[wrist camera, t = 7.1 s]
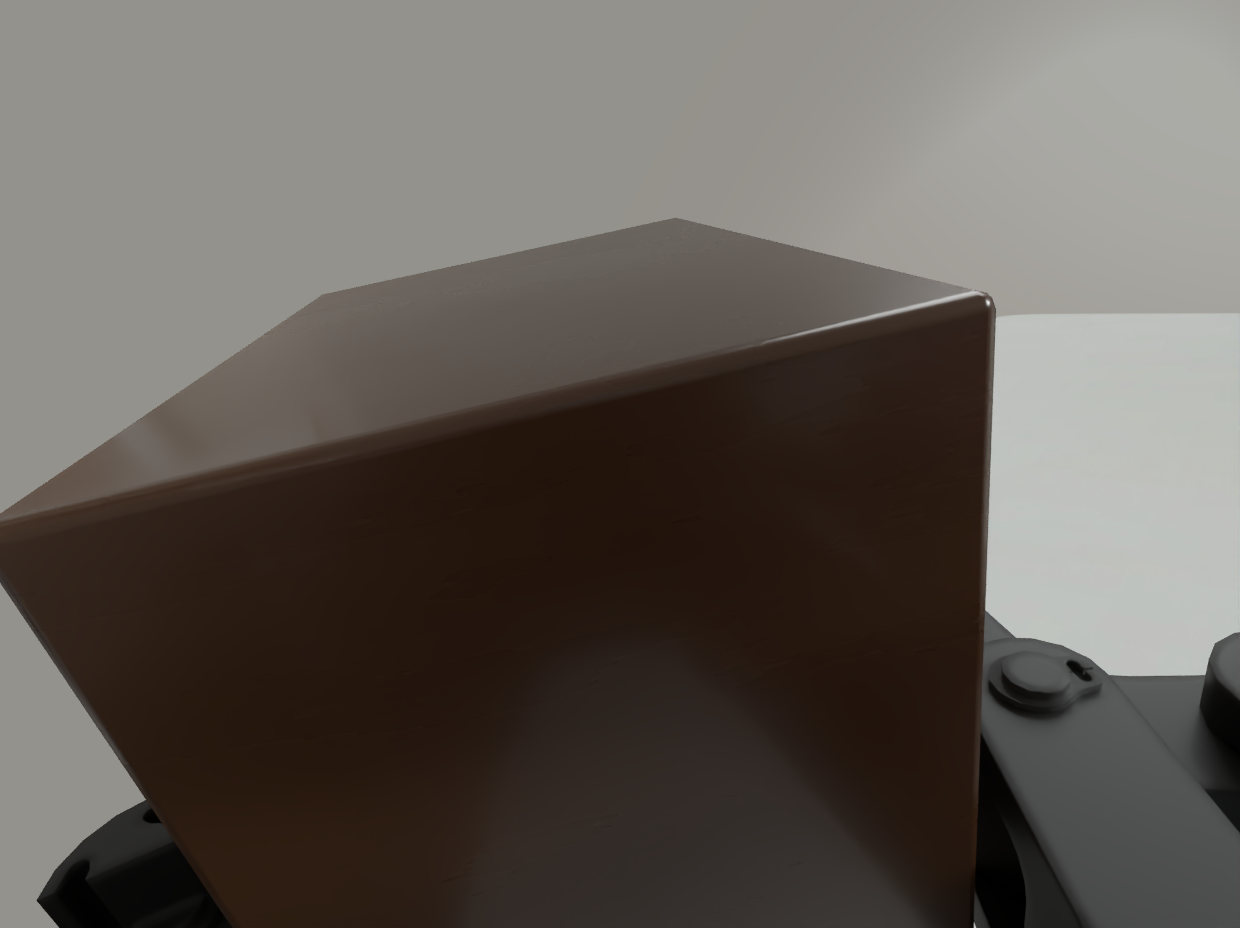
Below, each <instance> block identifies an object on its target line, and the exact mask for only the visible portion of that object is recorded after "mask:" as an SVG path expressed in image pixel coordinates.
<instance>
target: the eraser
mask: <svg viewBox="0 0 1240 928" xmlns="http://www.w3.org/2000/svg"><path fill="white" fill-rule="evenodd" d="M995 322H996V308H995V305H994V302H993V299H992V298H991V297H990V296H989V295H988V294H987V293H984V292H980V291H976V290H972V289H968V288H963V287H959V286H955V285H951V284H947V283H943V282H939V281H935V280H931V279H927V278H922V277H918V276H914V275H910V274H906V273H901V272H898V271H894V270H889V269H885V268H881V267H877V266H873V265H868V264H865V263H860V262H856V261H852V260H848V259H844V258H839V257H835V256H831V255H827V254H823V253H819V252H815V251H810V250H807V249H803V248H798V247H794V246H790V245H786V244H782V243H778V242H774V241H770V240H765V239H761V238H757V237H753V236H749V235H745V234H741V233H737V232H732V231H728V230H724V229H720V228H715V227H712V226H707V225H703V224H699V223H695V222H691V221H687V220H683V219H678V218H673V219H668V220H664V221H659V222H654V223H650V224H645V225H641V226H636V227H631V228H627V229H622V230H618V231H613V232H609V233H604V234H600V235H595V236H590V237H586V238H581V239H576V240H572V241H567V242H562V243H558V244H553V245H549V246H544V247H539V248H535V249H530V250H526V251H521V252H517V253H512V254H507V255H503V256H499V257H494V258H489V259H485V260H480V261H475V262H471V263H466V264H461V265H457V266H452V267H448V268H443V269H438V270H434V271H429V272H425V273H420V274H416V275H411V276H406V277H402V278H397V279H392V280H388V281H383V282H379V283H374V284H369V285H365V286H361V287H356V288H351V289H347V290H342V291H337V292H333V293H328V294H324V295H321V296H320V297H319V298H318V299H316V300H314V301H313V302H311V303H310V304H308V305H307V306H305V307H304V308H302V309H301V310H299V311H298V312H296V313H295V314H293V315H292V316H291V317H289V318H288V319H286V320H285V321H283V322H282V323H280V324H279V325H277V326H276V327H274V328H273V329H271V330H270V331H268V332H267V333H266V334H264V335H263V336H261V337H260V338H258V339H257V340H255V341H254V342H253V343H251V344H249V345H248V346H246V347H245V348H243V349H242V350H241V351H239V352H238V353H236V354H235V355H233V356H232V357H230V358H229V359H227V360H226V361H224V362H223V363H222V364H220V365H219V366H217V367H216V368H214V369H213V370H211V371H210V372H208V373H207V374H205V375H204V376H202V377H201V378H199V379H198V380H197V381H195V382H193V383H192V384H190V385H189V386H188V387H186V388H185V389H183V390H182V391H180V392H179V393H177V394H176V395H175V396H173V397H171V398H170V399H168V400H167V401H165V402H164V403H163V404H161V405H160V406H158V407H157V408H155V409H154V410H152V411H151V412H149V413H148V414H146V415H145V416H144V417H142V418H140V419H139V420H137V421H136V422H135V423H133V424H132V425H130V426H129V427H127V428H126V429H124V430H123V431H121V432H120V433H118V434H117V435H115V436H114V437H113V438H111V439H109V440H108V441H107V442H105V443H104V444H102V445H101V446H99V447H98V448H96V449H95V450H94V451H92V452H90V453H89V454H87V455H86V456H84V457H83V458H82V459H80V460H79V461H77V462H76V463H74V464H73V465H71V466H70V467H68V468H67V469H65V470H64V471H62V472H61V473H59V474H58V475H57V476H55V477H54V478H52V479H51V480H49V481H48V482H46V483H45V484H43V485H42V486H40V487H39V488H37V489H36V490H34V491H33V492H31V493H30V494H29V495H27V496H26V497H24V498H23V499H21V500H20V501H18V502H17V503H15V504H14V505H13V506H11V507H10V508H8V509H7V510H5V511H4V512H2V513H1V514H0V583H1V585H2V586H3V588H4V589H5V590H6V592H7V593H8V595H9V596H10V598H11V599H12V601H13V602H14V604H15V605H16V607H17V608H18V610H19V611H20V613H21V614H22V616H23V617H24V619H25V620H26V622H27V623H28V625H29V626H30V627H31V629H32V631H33V632H34V634H35V635H36V637H37V638H38V640H39V641H40V643H41V644H42V646H43V647H44V649H45V650H46V651H47V653H48V654H49V656H50V657H51V659H52V660H53V662H54V663H55V665H56V666H57V668H58V669H59V671H60V672H61V674H62V675H63V677H64V678H65V680H66V681H67V683H68V684H69V686H70V687H71V689H72V690H73V692H74V693H75V694H76V696H77V698H78V699H79V700H80V702H81V704H82V705H83V706H84V708H85V710H86V711H87V712H88V714H89V715H90V717H91V718H92V720H93V721H94V723H95V724H96V726H97V727H98V729H99V730H100V732H101V733H102V735H103V736H104V738H105V739H106V741H107V742H108V743H109V745H110V747H111V748H112V750H113V751H114V753H115V754H116V755H117V757H118V759H119V760H120V761H121V763H122V765H123V766H124V767H125V769H126V770H127V772H128V773H129V775H130V776H131V778H132V779H133V781H134V782H135V784H136V785H137V787H138V788H139V790H140V791H141V793H142V794H143V796H144V797H145V799H146V800H147V802H148V803H149V805H150V806H151V808H152V809H153V811H154V812H155V814H156V815H157V817H158V818H159V820H160V821H161V823H162V824H163V826H164V827H165V829H166V830H167V832H168V833H169V834H170V836H171V837H172V839H173V840H174V842H175V843H176V845H177V846H178V848H179V849H180V851H181V852H182V854H183V855H184V857H185V858H186V860H187V861H188V863H189V864H190V866H191V867H192V869H193V870H194V872H195V873H196V875H197V876H198V878H199V879H200V881H201V882H202V884H203V885H204V887H205V888H206V890H207V891H208V893H209V894H210V895H211V897H212V898H213V900H214V901H215V903H216V904H217V906H218V907H219V909H220V910H221V912H222V913H223V915H224V916H225V918H226V919H227V921H228V922H229V924H230V925H231V927H232V928H973V927H974V900H975V872H976V845H977V817H978V790H979V762H980V735H981V707H982V680H983V652H984V625H985V597H986V570H987V542H988V515H989V487H990V460H991V432H992V405H993V377H994V350H995Z"/></svg>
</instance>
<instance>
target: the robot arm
mask: <svg viewBox="0 0 1240 928" xmlns="http://www.w3.org/2000/svg"><path fill="white" fill-rule="evenodd" d="M37 902H38V903H39V904H40V905H41V906H42V908H43V909H44V910H45V911H46V912H47V913H48V915H49V916H50V917H51V918H52V919H53V921H54V922H55V923H56V924H57V925H58V927H59V928H232V927H231V925H230V924H229V922H228V921H227V919H226V918H225V916H224V915H223V913H222V912H221V910H220V909H219V907H218V906H217V904H216V903H215V901H214V900H213V898H212V897H211V895H210V894H209V893H208V891H207V890H206V888H205V887H204V885H203V884H202V882H201V881H200V879H199V878H198V876H197V875H196V873H195V872H194V870H193V869H192V867H191V866H190V864H189V863H188V861H187V860H186V858H185V857H184V855H183V854H182V852H181V851H180V849H179V848H178V846H177V845H176V843H175V842H174V840H173V839H172V837H171V836H170V834H169V833H168V832H167V830H166V829H165V827H164V826H163V824H162V823H161V821H160V820H159V818H158V817H157V815H156V814H155V812H154V811H153V809H152V808H151V806H150V805H149V803H148V802H147V800H145V801H144V802H141V803H139V804H137V805H136V806H134V807H132V808H130V809H128V810H126V811H124V812H122V813H120V814H119V815H116V816H115V817H114V818H112V819H111V820H110V821H108V822H107V823H106V824H104V825H103V826H102V827H100V828H99V829H98V830H97V831H95V832H94V833H93V834H91V835H90V836H89V837H87V838H86V839H85V840H83V841H82V843H80V844H79V845H78V847H77V848H76V849H75V850H74V851H73V852H72V853H71V854H70V855H69V856H68V857H67V858H66V859H65V860H64V861H63V862H62V863H61V865H59V866H58V868H57V869H56V870H55V871H54V873H53V874H52V876H51V878H50V879H49V881H48V883H47V884H46V886H45V888H44V889H43V891H42V893H41V894H40V896H39V897H38V899H37ZM974 923H975V925H976V928H1240V632H1239V633H1234V634H1232V635H1230V636H1228V637H1226V638H1224V639H1222V640H1221V641H1219V642H1217V643H1215V645H1214V648H1213V650H1212V653H1211V655H1210V658H1209V662H1208V666H1207V671H1206V675H1199V676H1114V675H1108V674H1107V673H1106V672H1105V671H1104V670H1102V669H1101V668H1100V667H1099V666H1098V665H1097V664H1095V663H1094V662H1093V661H1092V660H1091V659H1089V658H1087V657H1085V656H1083V655H1081V654H1079V653H1076V652H1074V651H1072V650H1070V649H1068V648H1066V647H1064V646H1061V645H1057V644H1053V643H1049V642H1045V641H1040V640H1036V639H1032V638H1015V637H1014V636H1013V635H1012V634H1011V633H1010V632H1009V631H1008V630H1007V629H1005V628H1004V627H1003V626H1002V625H1001V624H1000V623H999V622H998V621H997V620H995V619H994V618H993V617H992V616H991V615H990V614H989V613H988V612H986V611H985V625H984V652H983V680H982V707H981V735H980V762H979V790H978V817H977V845H976V872H975V900H974Z"/></svg>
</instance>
